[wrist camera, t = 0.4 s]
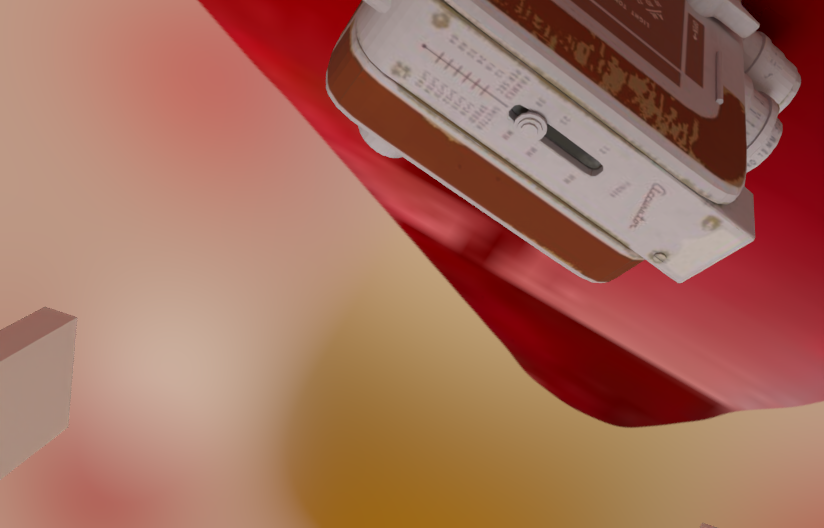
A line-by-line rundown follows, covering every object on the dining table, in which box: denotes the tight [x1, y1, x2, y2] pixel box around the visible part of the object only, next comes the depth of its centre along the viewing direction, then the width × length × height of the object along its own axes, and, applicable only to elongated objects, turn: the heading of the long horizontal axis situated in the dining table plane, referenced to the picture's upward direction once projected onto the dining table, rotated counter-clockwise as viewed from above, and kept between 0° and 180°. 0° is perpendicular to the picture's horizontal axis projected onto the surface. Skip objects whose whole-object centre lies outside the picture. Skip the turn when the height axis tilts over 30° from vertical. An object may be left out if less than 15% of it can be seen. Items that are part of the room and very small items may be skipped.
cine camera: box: [326, 0, 801, 283], centre depth 33 cm, size 9×19×20 cm, turn 58°
